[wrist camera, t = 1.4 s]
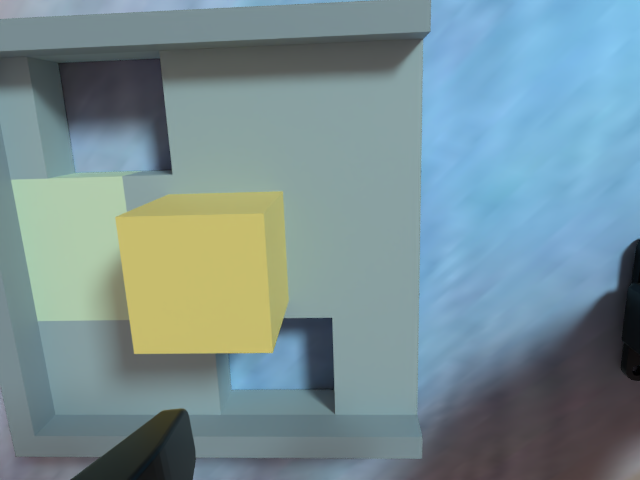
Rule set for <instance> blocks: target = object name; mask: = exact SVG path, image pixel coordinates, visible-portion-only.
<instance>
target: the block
mask: <svg viewBox="0 0 640 480" xmlns="http://www.w3.org/2000/svg"><path fill="white" fill-rule="evenodd" d="M115 220H116V227H117V234H118V241H119V249H120V256H121V263H122V270H123V277H124V284H125V291H126V299H127V306H128V313H129V320H130V327H131V334H132V342H133V349H134V354H190V353H273V350H274V347H275V344H276V341H277V337H278V334H279V331H280V328H281V325H282V321H283V318H284V315H285V312H286V308H287V305H288V302H289V295H288V276H287V257H286V239H285V220H284V201H283V191H272V192H235V193H198V194H168V195H166V196H163V197H161V198H159V199H156V200H154V201H152V202H149V203H147V204H144V205H142V206H140V207H137V208H135V209H133V210H130V211H128V212H126V213H123V214H121V215H119V216H116V217H115Z"/></svg>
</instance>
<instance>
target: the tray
mask: <svg viewBox="0 0 640 480" xmlns="http://www.w3.org/2000/svg"><path fill="white" fill-rule="evenodd" d="M430 25H431V0H375V1H355V2H335V3H314V4H294V5H274V6H254V7H234V8H214V9H193V10H173V11H153V12H133V13H113V14H93V15H73V16H52V17H32V18H12V19H0V386H1V391H2V395H3V400H4V405H5V409H6V414H7V418H8V423H9V428H10V432H11V437H12V441H13V446H14V451H15V455H16V457H101V456H103V455H104V454H105V453H107V452H108V451H109V450H111V449H112V448H113V447H115V446H116V445H117V444H118V443H120V442H121V441H122V440H124V439H125V438H126V437H128V436H129V435H130V434H132V433H133V432H134V431H136V430H137V429H138V428H140V427H141V426H142V425H144V424H145V423H146V422H148V421H149V420H150V419H152V418H153V417H154V416H155V415H157V414H158V413H159V412H161V411H163V410H170V409H180V408H183V409H185V410H186V411H187V412H188V414H189V418H190V423H191V428H192V434H193V439H194V444H195V452H196V458H374V459H422V440H423V437H422V433H421V429H420V425H419V420H418V416H417V391H418V328H419V265H420V203H421V140H422V77H423V39H424V38H425V37H426V36H427V35H428V33H429V32H430ZM158 58H160V63H161V72H162V81H163V91H164V100H165V109H166V118H167V128H168V137H169V146H170V155H171V165H172V170H159V171H126V172H93V173H75V168H74V162H73V155H72V149H71V142H70V136H69V130H68V123H67V117H66V110H65V104H64V98H63V91H62V85H61V78H60V72H59V66H58V63H67V62H90V61H112V60H135V59H158ZM272 191H283V201H284V220H285V239H286V257H287V276H288V295H289V302H288V305H287V308H286V312H285V315H284V318H332V325H333V358H334V390H231V379H230V368H229V356H228V353H190V354H134V349H133V342H132V334H131V327H130V320H129V313H128V306H127V299H126V291H125V284H124V277H123V270H122V263H121V256H120V249H119V241H118V234H117V227H116V220H115V217H116V216H119V215H121V214H123V213H126V212H128V211H130V210H133V209H135V208H137V207H140V206H142V205H144V204H147V203H149V202H152V201H154V200H156V199H159V198H161V197H163V196H166V195H168V194H198V193H235V192H272Z"/></svg>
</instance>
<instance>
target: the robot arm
mask: <svg viewBox="0 0 640 480" xmlns="http://www.w3.org/2000/svg"><path fill="white" fill-rule="evenodd" d="M622 341H623V342H624V347H623V354H622V362H621V370H622V372H623V373H624V374H625V375H626V376H627V377H628V378H630V379H631V380H635V381H640V240H639V242H638V243H637V246H636V253H635V261H634V268H633V276H632V284H631V285H630V287H629V288H628V293H627V301H626V309H625V317H624V325H623V333H622ZM637 365H639V366H638V368H637V369H636V370H635V371H632V369H633V367H635V366H637ZM195 460H196V452H195V444H194V439H193V434H192V428H191V423H190V418H189V414H188V412H187V411H186V410H185V409H183V408H180V409H170V410H163V411H161V412H159V413H158V414H157V415H155V416H154V417H153V418H152V419H150V420H149V421H148V422H146V423H145V424H144V425H142V426H141V427H140V428H138V429H137V430H136V431H134V432H133V433H132V434H130V435H129V436H128V437H126V438H125V439H124V440H122V441H121V442H120V443H118V444H117V445H116V446H115V447H113V448H112V449H111V450H109V451H108V452H107V453H105V454H104V455H103V456H101V457H100V458H99V459H97V460H96V461H95V462H93V463H92V464H91V465H89V466H88V467H87V468H85V469H84V470H83V471H81V472H80V473H79V474H77V475H76V476H75V477H73V478H72V479H71V480H193V474H194V468H195Z"/></svg>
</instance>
